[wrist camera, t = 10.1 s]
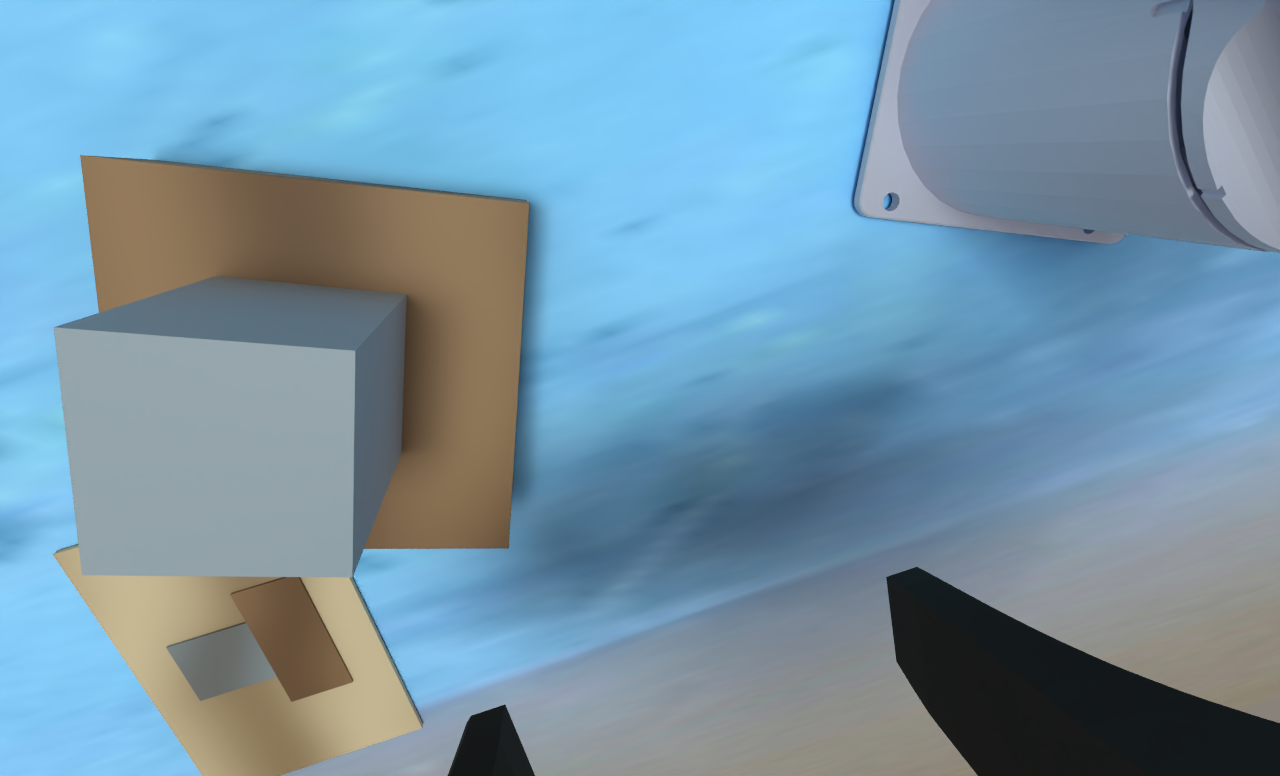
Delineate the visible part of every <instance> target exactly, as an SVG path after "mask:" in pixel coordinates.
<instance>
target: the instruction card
mask: <svg viewBox="0 0 1280 776" xmlns="http://www.w3.org/2000/svg"><path fill="white" fill-rule="evenodd" d="M53 555H54V557H55V558H56V560H57V561H58V563H59V564H60V566H61V567H62V569H63V570H64V572H65V573H66V575H67V576H68V578H69V579H70V581H71V582H72V583H73V585H74V586H75V588H76V589H77V591H78V592H79V594H80V595H81V597H82V598H83V600H84V601H85V603H86V604H87V606H88V607H89V609H90V610H91V612H92V613H93V614H94V616H95V617H96V619H97V620H98V622H99V623H100V625H101V626H102V628H103V629H104V631H105V632H106V634H107V635H108V637H109V638H110V640H111V641H112V643H113V644H114V645H115V647H116V648H117V650H118V651H119V653H120V654H121V656H122V657H123V659H124V660H125V662H126V663H127V665H128V666H129V668H130V669H131V671H132V672H133V674H134V675H135V676H136V678H137V679H138V681H139V682H140V684H141V685H142V687H143V688H144V690H145V691H146V693H147V694H148V696H149V697H150V699H151V700H152V702H153V703H154V705H155V706H156V707H157V709H158V710H159V712H160V713H161V715H162V716H163V718H164V719H165V721H166V722H167V724H168V725H169V727H170V728H171V730H172V731H173V733H174V734H175V736H176V737H177V738H178V740H179V741H180V743H181V744H182V746H183V747H184V749H185V750H186V752H187V753H188V755H189V756H190V758H191V759H192V761H193V762H194V764H195V765H196V767H197V768H198V769H199V771H200V772H201V774H202V775H203V776H280V775H283V774H286V773H289V772H292V771H295V770H298V769H301V768H304V767H307V766H310V765H313V764H316V763H319V762H322V761H325V760H328V759H331V758H334V757H337V756H340V755H343V754H346V753H349V752H352V751H355V750H358V749H361V748H364V747H367V746H370V745H373V744H376V743H379V742H382V741H385V740H388V739H391V738H394V737H397V736H400V735H403V734H406V733H409V732H412V731H415V730H418V729H421V728H422V727H423V723H422V721H421V719H420V716H419V714H418V712H417V710H416V708H415V706H414V704H413V702H412V700H411V698H410V696H409V694H408V692H407V690H406V687H405V685H404V683H403V681H402V679H401V677H400V675H399V673H398V671H397V669H396V667H395V665H394V663H393V661H392V659H391V656H390V654H389V652H388V650H387V648H386V646H385V644H384V642H383V640H382V638H381V636H380V634H379V632H378V630H377V627H376V625H375V623H374V621H373V619H372V617H371V615H370V613H369V611H368V609H367V607H366V605H365V603H364V601H363V598H362V596H361V594H360V592H359V590H358V588H357V586H356V584H355V582H354V580H353V578H352V577H229V576H107V575H82V571H81V562H80V553H79V544H78V545H75V546H71V547H68V548H64V549H61V550H57V551H56V552H55V553H54V554H53Z"/></svg>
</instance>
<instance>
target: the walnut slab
mask: <svg viewBox="0 0 1280 776" xmlns="http://www.w3.org/2000/svg"><path fill="white" fill-rule="evenodd" d="M80 157H81V165H82V173H83V182H84V190H85V199H86V207H87V215H88V224H89V232H90V241H91V249H92V257H93V266H94V274H95V282H96V291H97V299H98V308H99V313H101V312H104V311H107V310H110V309H113V308H116V307H120V306H123V305H126V304H129V303H132V302H135V301H138V300H142V299H145V298H148V297H151V296H154V295H157V294H160V293H164V292H167V291H170V290H173V289H176V288H179V287H182V286H185V285H189V284H192V283H195V282H198V281H201V280H204V279H207V278H211V277H214V276H221V277H232V278H242V279H252V280H263V281H273V282H284V283H294V284H304V285H315V286H325V287H335V288H346V289H356V290H367V291H377V292H387V293H398V294H407V301H406V330H405V360H404V389H403V419H402V449H401V456H400V458H399V461H398V463H397V466H396V468H395V471H394V474H393V476H392V479H391V481H390V484H389V486H388V489H387V491H386V494H385V496H384V499H383V501H382V504H381V506H380V509H379V511H378V514H377V517H376V519H375V522H374V524H373V527H372V529H371V532H370V534H369V537H368V539H367V542H366V544H365V547H364V549H441V548H509V534H510V517H511V501H512V484H513V467H514V450H515V434H516V417H517V400H518V383H519V367H520V350H521V333H522V317H523V300H524V283H525V266H526V250H527V233H528V216H529V203H528V202H527V201H526V200H520V199H511V198H501V197H492V196H483V195H474V194H464V193H455V192H446V191H437V190H427V189H418V188H409V187H400V186H390V185H381V184H372V183H362V182H353V181H344V180H335V179H325V178H316V177H307V176H298V175H288V174H279V173H270V172H261V171H251V170H242V169H233V168H224V167H214V166H205V165H196V164H187V163H177V162H168V161H159V160H147V159H131V158H115V157H99V156H83V155H80Z"/></svg>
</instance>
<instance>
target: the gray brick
mask: <svg viewBox="0 0 1280 776" xmlns="http://www.w3.org/2000/svg"><path fill="white" fill-rule="evenodd" d="M406 301H407V294H398V293H387V292H377V291H367V290H356V289H346V288H335V287H325V286H315V285H304V284H294V283H284V282H273V281H263V280H252V279H242V278H232V277H221V276H214V277H211V278H207V279H204V280H201V281H198V282H195V283H192V284H189V285H185V286H182V287H179V288H176V289H173V290H170V291H167V292H164V293H160V294H157V295H154V296H151V297H148V298H145V299H142V300H138V301H135V302H132V303H129V304H126V305H123V306H120V307H116V308H113V309H110V310H107V311H104V312H101V313H98V314H95V315H91V316H88V317H85V318H82V319H79V320H76V321H73V322H69V323H66V324H63V325H60V326H57V327H54V333H55V342H56V351H57V360H58V368H59V377H60V386H61V395H62V404H63V412H64V421H65V430H66V439H67V448H68V456H69V465H70V474H71V483H72V492H73V500H74V509H75V518H76V527H77V536H78V544H79V553H80V562H81V571H82V575H107V576H229V577H353V575H354V572H355V570H356V567H357V565H358V562H359V560H360V557H361V554H362V552H363V549H364V547H365V544H366V542H367V539H368V537H369V534H370V532H371V529H372V527H373V524H374V522H375V519H376V517H377V514H378V511H379V509H380V506H381V504H382V501H383V499H384V496H385V494H386V491H387V489H388V486H389V484H390V481H391V479H392V476H393V474H394V471H395V468H396V466H397V463H398V461H399V458H400V456H401V449H402V419H403V389H404V360H405V330H406Z"/></svg>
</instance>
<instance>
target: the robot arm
mask: <svg viewBox="0 0 1280 776" xmlns="http://www.w3.org/2000/svg"><path fill="white" fill-rule="evenodd" d="M888 193H890V194H891V196H892V203H891V206H890V207H889V208H888V209H886V210H885V208H884V206H883V200H884V198H885V196H886V195H887V194H888ZM854 205H855V208H856V210H857V211H858V212H859V213H860V215H863V216H866V217H872V218H881V219H890V220H898V221H907V222H916V223H925V224H934V225H943V226H952V227H961V228H970V229H979V230H988V231H997V232H1006V233H1015V234H1024V235H1032V236H1041V237H1050V238H1059V239H1068V240H1077V241H1086V242H1095V243H1104V244H1115V243H1117V242H1119V241H1121V239H1122V238H1123V237H1124V236H1125V235H1126V234H1129V235H1137V236H1145V237H1153V238H1161V239H1169V240H1177V241H1185V242H1193V243H1201V244H1209V245H1217V246H1225V247H1233V248H1241V249H1249V250H1257V251H1269V252H1278V253H1280V0H895V2H894V7H893V12H892V17H891V22H890V27H889V32H888V36H887V41H886V46H885V51H884V56H883V61H882V66H881V71H880V76H879V80H878V85H877V90H876V95H875V100H874V105H873V110H872V115H871V119H870V124H869V129H868V134H867V139H866V144H865V149H864V154H863V158H862V163H861V168H860V173H859V178H858V183H857V188H856V193H855V198H854ZM1083 229H1084V230H1083ZM886 578H887V586H888V594H889V603H890V611H891V619H892V627H893V636H894V644H895V652H896V661H897V663H898V664H899V666H900V668H901V669H902V671H903V673H904V674H905V676H906V678H907V679H908V681H909V683H910V684H911V686H912V687H913V689H914V691H915V692H916V694H917V695H918V697H919V698H920V700H921V702H922V703H923V705H924V706H925V708H926V709H927V711H928V712H929V714H930V715H931V716H932V718H933V719H934V720H935V722H936V723H937V724H938V726H939V727H940V728H941V729H942V731H943V732H944V733H945V734H946V736H947V737H948V738H949V740H950V741H951V742H952V743H953V745H954V746H955V747H956V748H957V750H958V751H959V752H960V753H961V755H962V756H963V757H964V759H965V760H966V761H967V762H968V764H969V765H970V766H971V767H972V769H973V770H974V771H975V772H976V774H977V775H978V776H1280V723H1276V722H1274V721H1270V720H1267V719H1263V718H1260V717H1257V716H1254V715H1251V714H1248V713H1245V712H1242V711H1238V710H1235V709H1232V708H1229V707H1226V706H1223V705H1220V704H1217V703H1214V702H1210V701H1207V700H1205V699H1202V698H1199V697H1196V696H1193V695H1190V694H1187V693H1184V692H1182V691H1179V690H1176V689H1174V688H1171V687H1168V686H1166V685H1163V684H1161V683H1158V682H1155V681H1153V680H1150V679H1147V678H1145V677H1142V676H1140V675H1137V674H1134V673H1132V672H1129V671H1127V670H1124V669H1122V668H1119V667H1117V666H1115V665H1112V664H1110V663H1107V662H1105V661H1103V660H1100V659H1098V658H1096V657H1094V656H1092V655H1089V654H1087V653H1085V652H1083V651H1080V650H1078V649H1076V648H1074V647H1072V646H1069V645H1067V644H1065V643H1063V642H1060V641H1058V640H1056V639H1054V638H1052V637H1050V636H1048V635H1046V634H1044V633H1042V632H1040V631H1038V630H1036V629H1034V628H1031V627H1029V626H1027V625H1025V624H1023V623H1022V622H1020V621H1018V620H1016V619H1014V618H1012V617H1010V616H1008V615H1006V614H1004V613H1002V612H1000V611H998V610H996V609H994V608H992V607H990V606H989V605H987V604H985V603H983V602H981V601H979V600H977V599H975V598H974V597H972V596H970V595H968V594H966V593H964V592H962V591H961V590H959V589H957V588H955V587H953V586H951V585H950V584H948V583H946V582H944V581H942V580H940V579H939V578H937V577H935V576H933V575H931V574H929V573H928V572H926V571H924V570H922V569H920V568H918V567H915V568H912V569H909V570H906V571H903V572H900V573H897V574H894V575H891V576H888V577H886ZM448 776H535V775H534V772H533V770H532V768H531V765H530V763H529V760H528V758H527V756H526V753H525V751H524V748H523V746H522V744H521V741H520V739H519V736H518V734H517V732H516V729H515V727H514V725H513V722H512V720H511V717H510V715H509V713H508V710H507V708H506V705H502V706H499V707H496V708H493V709H490V710H487V711H484V712H481V713H478V714H475V715H472V716H471V717H470V719H469V720H468V722H467V724H466V727H465V729H464V732H463V735H462V738H461V741H460V744H459V746H458V749H457V752H456V755H455V757H454V760H453V763H452V766H451V768H450V771H449V774H448Z"/></svg>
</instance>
